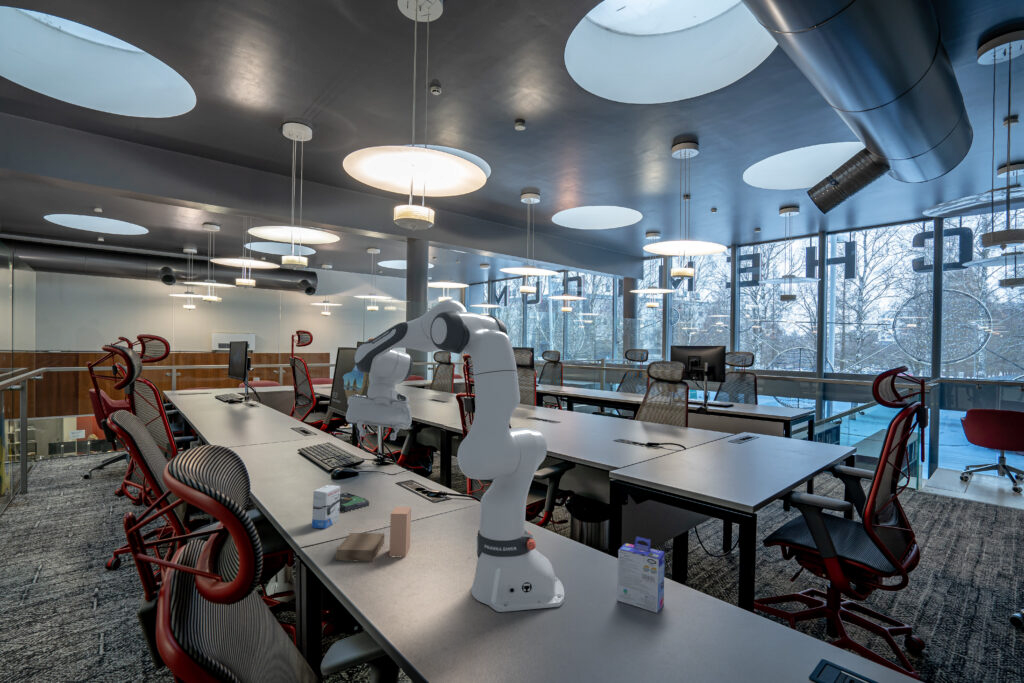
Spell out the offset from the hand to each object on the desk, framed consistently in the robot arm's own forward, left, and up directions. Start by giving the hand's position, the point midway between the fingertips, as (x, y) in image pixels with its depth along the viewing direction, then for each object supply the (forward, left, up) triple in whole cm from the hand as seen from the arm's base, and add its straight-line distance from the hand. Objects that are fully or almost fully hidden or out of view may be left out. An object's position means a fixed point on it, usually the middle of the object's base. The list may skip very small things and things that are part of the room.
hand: (377, 437), depth 145 cm
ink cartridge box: (-72, +35, -31) cm, 86 cm away
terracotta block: (-10, +10, -31) cm, 34 cm away
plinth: (+1, +10, -31) cm, 32 cm away
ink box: (+19, -11, -31) cm, 38 cm away
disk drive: (+19, -31, -31) cm, 48 cm away
